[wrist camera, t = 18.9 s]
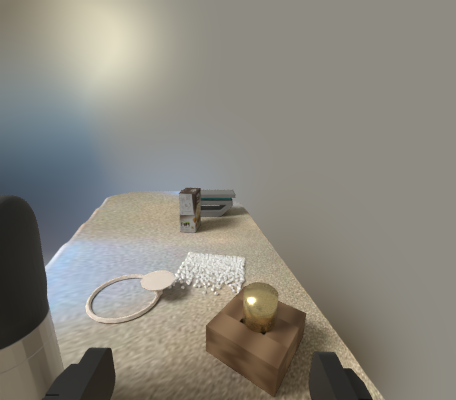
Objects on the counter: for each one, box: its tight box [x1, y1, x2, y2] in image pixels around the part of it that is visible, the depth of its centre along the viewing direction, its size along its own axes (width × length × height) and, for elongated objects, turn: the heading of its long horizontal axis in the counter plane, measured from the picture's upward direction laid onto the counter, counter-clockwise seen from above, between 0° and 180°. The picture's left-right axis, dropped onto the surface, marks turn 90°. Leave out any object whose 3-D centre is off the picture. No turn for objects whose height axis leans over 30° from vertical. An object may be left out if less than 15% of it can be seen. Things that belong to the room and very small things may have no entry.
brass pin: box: [243, 282, 278, 335], centre depth 46 cm, size 6×6×12 cm
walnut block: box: [206, 286, 306, 397], centre depth 47 cm, size 14×14×6 cm
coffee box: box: [179, 188, 201, 233], centre depth 97 cm, size 9×6×16 cm
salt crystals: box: [168, 251, 246, 296], centre depth 70 cm, size 20×20×2 cm
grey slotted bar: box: [181, 190, 235, 217], centre depth 114 cm, size 25×8×11 cm, turn 96°
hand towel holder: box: [86, 270, 175, 324], centre depth 59 cm, size 17×4×21 cm
